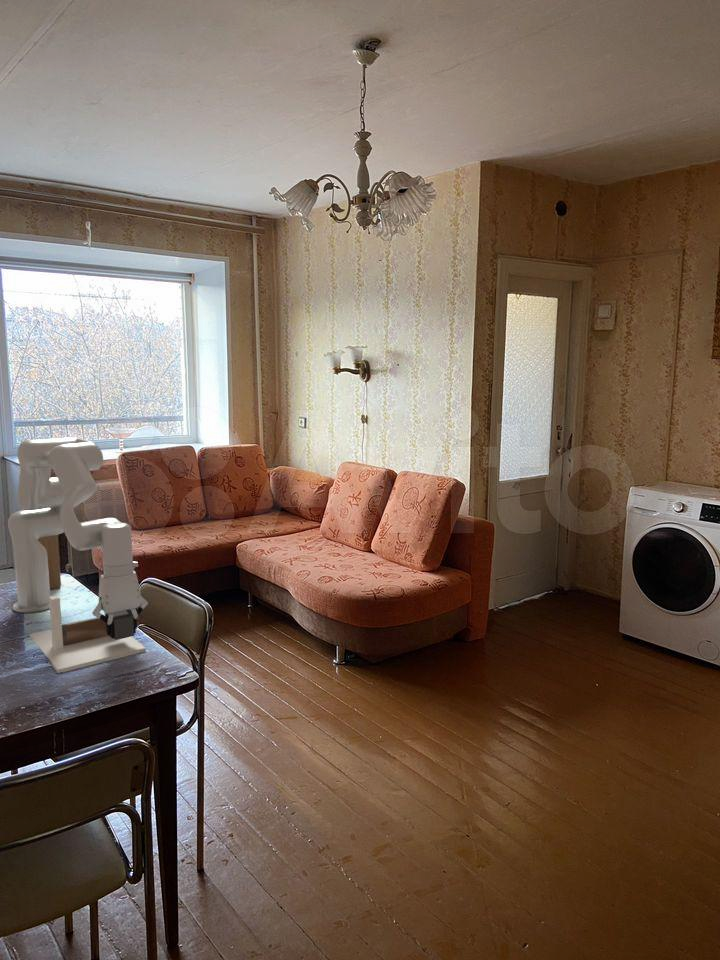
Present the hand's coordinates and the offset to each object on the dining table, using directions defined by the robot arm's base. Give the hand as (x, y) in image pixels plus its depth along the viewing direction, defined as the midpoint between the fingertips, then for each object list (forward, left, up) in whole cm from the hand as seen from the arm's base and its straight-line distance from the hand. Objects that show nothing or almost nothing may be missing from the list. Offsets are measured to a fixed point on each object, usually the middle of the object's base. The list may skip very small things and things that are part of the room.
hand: (122, 633), depth 189 cm
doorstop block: (-2, 0, -1) cm, 2 cm away
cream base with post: (-11, -7, -5) cm, 13 cm away
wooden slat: (-11, -5, -3) cm, 12 cm away
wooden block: (-73, -2, -5) cm, 73 cm away
